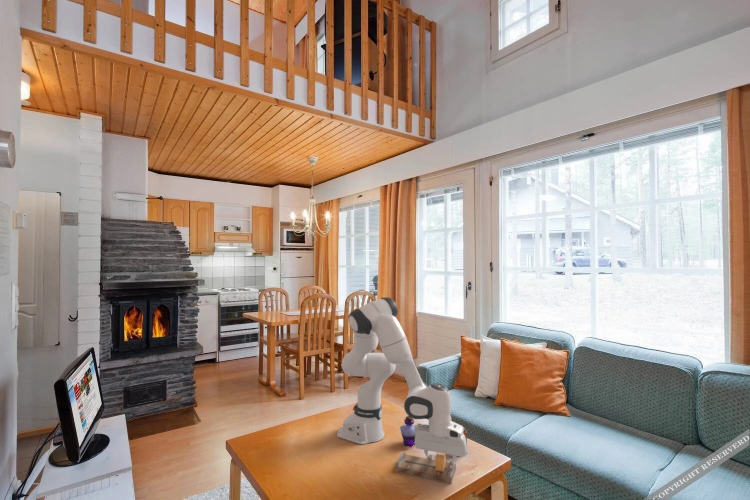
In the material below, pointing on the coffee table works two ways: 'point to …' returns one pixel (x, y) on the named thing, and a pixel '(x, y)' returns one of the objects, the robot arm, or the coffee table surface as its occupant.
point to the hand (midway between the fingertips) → (440, 462)
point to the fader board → (424, 468)
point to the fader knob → (440, 461)
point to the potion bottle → (408, 432)
